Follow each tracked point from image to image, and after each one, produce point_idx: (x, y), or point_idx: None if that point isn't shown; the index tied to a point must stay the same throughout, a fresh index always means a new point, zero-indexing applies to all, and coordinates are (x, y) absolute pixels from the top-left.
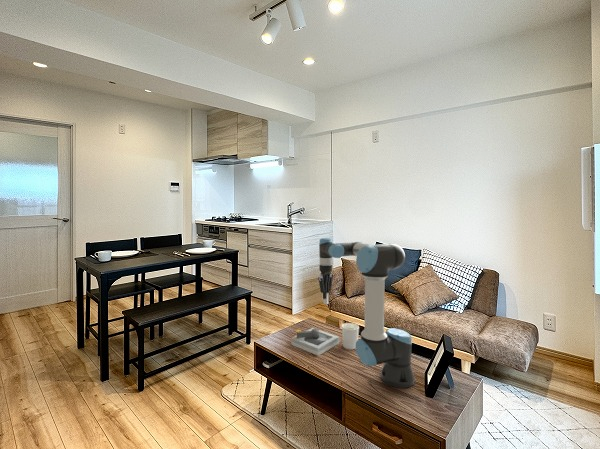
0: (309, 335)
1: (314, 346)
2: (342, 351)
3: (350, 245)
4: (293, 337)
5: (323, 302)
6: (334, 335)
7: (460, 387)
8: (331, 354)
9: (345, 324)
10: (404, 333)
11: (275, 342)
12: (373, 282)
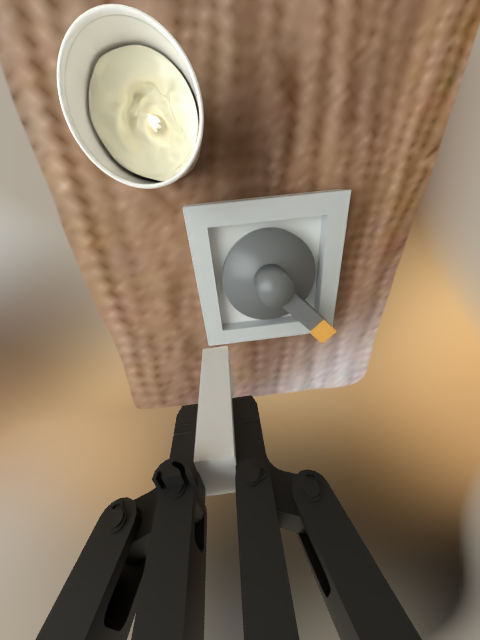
0: (296, 293)
1: (342, 219)
2: (235, 130)
3: None
4: None
5: (233, 384)
6: (191, 234)
7: None
8: (293, 152)
9: (133, 182)
10: None
11: (337, 355)
12: None
